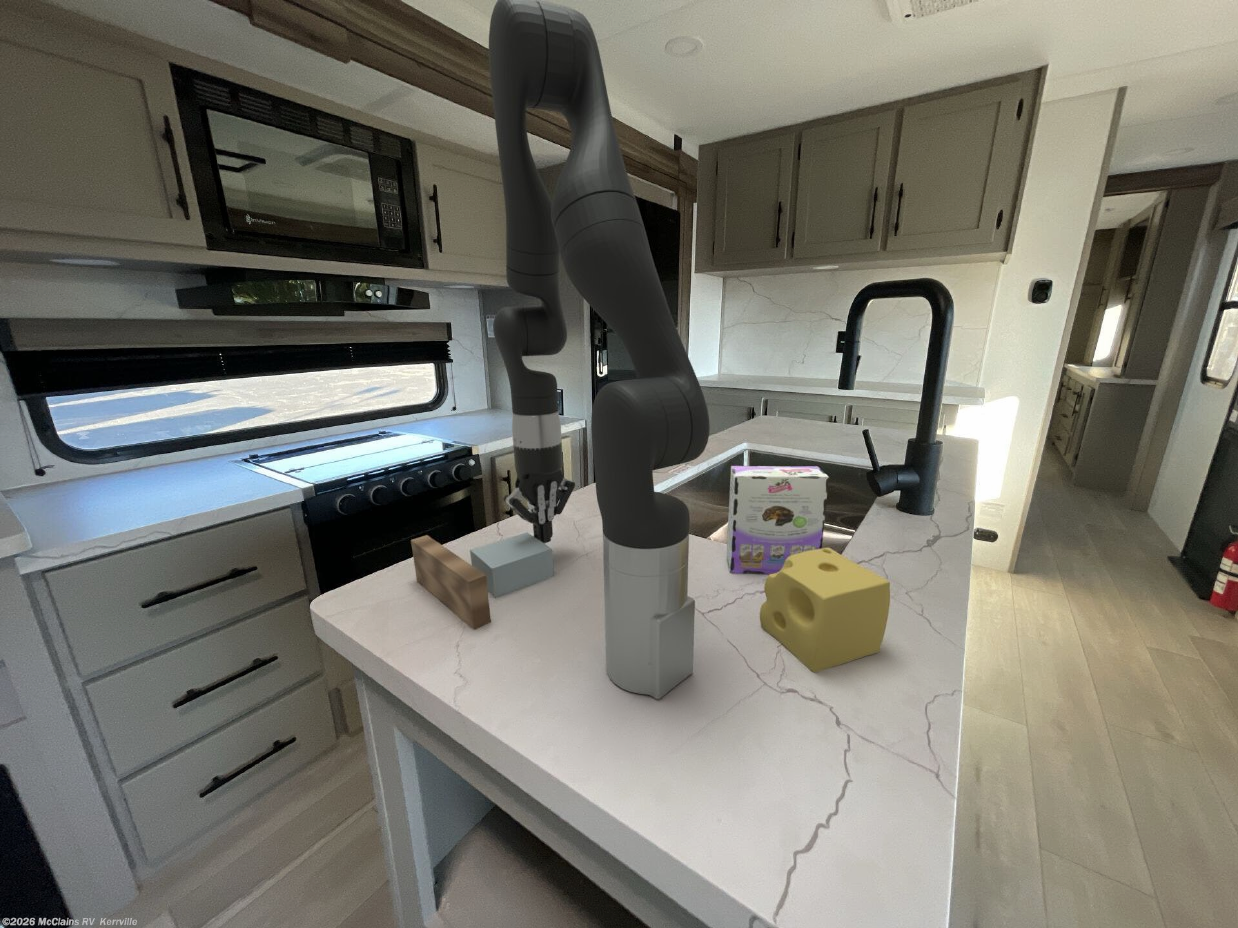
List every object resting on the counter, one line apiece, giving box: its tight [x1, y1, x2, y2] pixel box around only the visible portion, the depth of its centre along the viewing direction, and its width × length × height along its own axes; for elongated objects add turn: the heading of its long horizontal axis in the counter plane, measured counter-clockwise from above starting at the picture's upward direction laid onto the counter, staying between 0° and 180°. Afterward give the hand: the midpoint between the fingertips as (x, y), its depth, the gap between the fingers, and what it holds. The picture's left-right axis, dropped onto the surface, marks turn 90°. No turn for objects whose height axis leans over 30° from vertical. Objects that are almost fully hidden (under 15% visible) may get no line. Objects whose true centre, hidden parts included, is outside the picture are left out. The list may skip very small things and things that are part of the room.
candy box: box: [726, 465, 830, 575], centre depth 78 cm, size 14×6×16 cm, turn 84°
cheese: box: [759, 547, 891, 673], centre depth 61 cm, size 10×11×10 cm
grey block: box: [469, 532, 555, 598], centre depth 78 cm, size 8×10×5 cm
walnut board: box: [410, 534, 492, 630], centre depth 71 cm, size 18×2×7 cm, turn 44°
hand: (543, 541), depth 82 cm, fingers closed
